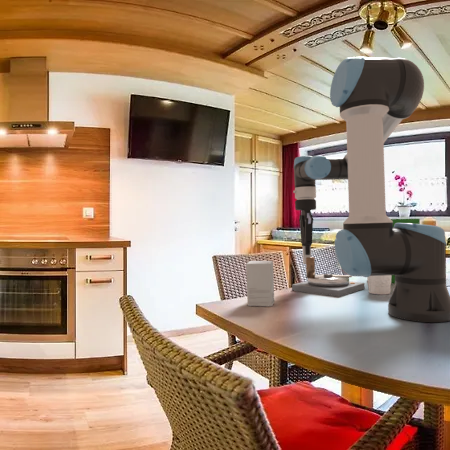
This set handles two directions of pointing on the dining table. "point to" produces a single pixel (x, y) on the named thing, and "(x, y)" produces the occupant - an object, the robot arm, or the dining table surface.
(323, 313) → the dining table surface
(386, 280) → the white cup
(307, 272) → the capstan dial
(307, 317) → the dining table surface
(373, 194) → the robot arm
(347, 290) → the dial base
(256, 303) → the supplement box
